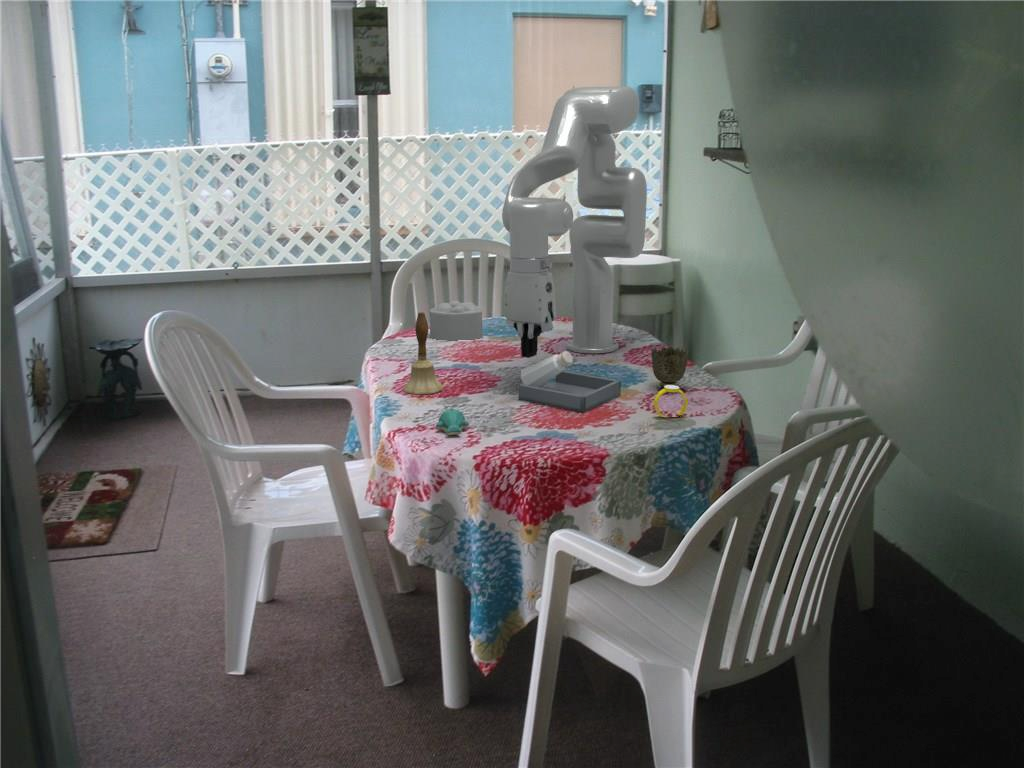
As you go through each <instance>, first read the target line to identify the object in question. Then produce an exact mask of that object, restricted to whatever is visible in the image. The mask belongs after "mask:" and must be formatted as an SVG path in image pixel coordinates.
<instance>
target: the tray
mask: <svg viewBox="0 0 1024 768" xmlns="http://www.w3.org/2000/svg"><path fill="white" fill-rule="evenodd" d="M621 382H622V380H618V379H613V378H605V377H601V376H595V375H588V374H583V373H577V372H572V371H566V370H563V371H562V372H561V373H560V374H558V375H557V376H555V381H554V382H551V383H550V384H547V385H546V384H545V386H544V385H543V386H542V387H540V388H539V387H533V386H528V385H524V384H523V383H520V384H518V401H522V402H527V403H534V404H538V405H542V406H543V405H544V406H548V407H552V408H553V407H554V408H558V409H563V410H568V411H572V412H578V413H583V414H584V413H586V412H588V411H591V410H593V409H594V408H596V407H598V406H601V405H603V404H606V403H607V402H609V401H612V400H613V399H615V398H618V397H620V396H621V393H622V392H621V391H622V390H621V388H622V386H621V385H622V384H621Z"/></svg>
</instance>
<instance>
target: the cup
mask: <svg viewBox="0 0 1024 768" xmlns="http://www.w3.org/2000/svg"><path fill="white" fill-rule="evenodd" d="M650 354H651V364H652V371H653V372H652V373H653V375H654V377H655V378H656V379H657V380H658V381H659V387H660V389H662V388H663V389H664V386H666V385H675V386H678V385H679V384H678V382H679V381H681V380H682V379H683V378H684V376H685V373H686V369H687V363H688V356H689V351H688V350H687V349H685V348H684V347H683V348H681V349H680V347H676V348H674V347H673V346H671V345H670V346H668V347H665V346H664V345H663V346H662V347H661V348H660V350H658V349H657V348H656V347H654V348H653V349H651V351H650Z"/></svg>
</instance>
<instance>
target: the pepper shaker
mask: <svg viewBox="0 0 1024 768" xmlns="http://www.w3.org/2000/svg"><path fill="white" fill-rule="evenodd" d="M573 361H574V359H573V355H572V354H571V353H570V352H569V351H565V350H564V351H562V352H561V353H560V354H557V353H556V354H554V355H551V356H549V357H547V358H545V359H542V360H540V361H537V362H535V363H533V364H531V365H529V366H526V367H523V368H522V369H521V371H520V380H521V381H522V384H523V385H528V386H533V387H539V388H542V387H544V385H545V386H546V384H547V383H549V382H551V381H552V380H553V379H554V378H556V376H557V375H558V374H560V373H561V372H562V371H566V367H568V366H570V365H572V364H573Z"/></svg>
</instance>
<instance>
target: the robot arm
mask: <svg viewBox="0 0 1024 768" xmlns="http://www.w3.org/2000/svg"><path fill="white" fill-rule="evenodd" d="M639 113H640V98H639V95H638V93H637V92H636V90H635V89H634V88H632V87H630V86H620V85H619V86H583V87H582V86H581V87H576V88H571V89H568V90H566V91H565V92H564V93H563V94H562V96H560V97H559V98H558V99H557V100H556V102H555V104H554V107H553V111H552V114H551V117H550V120H549V123H548V127H547V131H546V134H545V138H544V141H543V145H542V148H541V150H540V152H539V153H538V154H536V155H534V156H533V157H532V158H531V159H530V160H528V162H526V163H525V164H524V165H523V166H522V167H521V168H520V169H519V170H518V171H517V172H516V173H515V175H514V176H513V177H512V179H511V181H510V183H509V185H508V189H507V192H506V195H505V199H504V202H503V205H502V206H503V208H502V210H501V211H502V213H501V217H502V218H501V220H502V224H503V226H504V229H505V230H506V231H507V232H508V233H509V271H508V272H507V275H506V280H505V286H504V299H503V300H504V301H503V302H504V303H503V306H504V307H503V308H504V310H503V311H504V316H505V318H506V321H505V322H506V324H507V325H508V326H510V327H513V328H514V329H515V331H516V332H517V335H518V337H519V338H520V351H521V357H522V358H527V359H529V358H533V357H535V356H537V355H538V350H539V349H538V345H539V344H538V343H539V342H538V338H539V337H540V336H541V334H542V333H543V332H547V331H550V330H553V328H554V326H553V322H554V321H555V320H556V318H557V299H556V296H557V295H556V289H555V282H554V278H553V277H554V276H553V274H552V272H549V270H550V269H553V262H552V261H549V237H559V236H563V235H565V234H566V233H568V235H569V236H568V237H569V243H570V250H571V258H572V339H569V340H567V341H566V342H565V348H566V349H567V350H569V351H572V352H575V353H581V354H606V353H610V352H615V351H616V350H618V349H619V342H617V341H616V340H614V339H613V336H614V335H617V334H619V333H620V328H619V327H618V326H616V325H615V326H613V316H614V315H613V311H614V309H613V308H614V306H613V305H614V274H613V270H612V269H611V266H610V265H609V262H608V261H607V260H606V259H605V258H617V259H618V258H619V259H623V258H624V259H633V258H634V259H635V258H638V257H639V256H640V255H641V254H642V252H643V250H644V246H645V239H646V238H645V237H646V221H647V201H648V200H647V199H648V197H647V195H648V192H647V190H648V188H647V187H648V184H647V180H646V177H645V174H644V173H643V171H642V170H640V169H638V168H635V167H628V166H627V167H624V166H623V167H622V166H621V167H619V166H618V167H617V166H616V147H617V146H616V142H615V139H614V137H613V136H612V135H615V134H618V133H620V132H623V131H624V130H626V129H628V128H630V127H632V125H633V124H634V123H635V122H636V120H637V118H638V115H639ZM576 170H577V189H576V190H577V199H578V203H579V204H580V205H581V206H582V207H584V208H586V209H593V210H611V211H612V210H613V211H622V213H623V215H608V214H606V215H605V214H585V215H580V216H579V217H577V218H575V219H574V211H573V208H572V206H571V204H569V202H568V201H566V200H565V199H562V198H556V197H555V198H554V197H552V198H551V197H533V196H532V197H531V196H530V195H531V194H532V193H533V192H534V191H535V190H536V189H538V188H539V187H541V186H543V185H546V184H547V183H549V182H552V181H555V180H557V179H560V178H562V177H564V176H567V175H569V174H570V173H573V172H575V171H576ZM568 231H569V232H568Z"/></svg>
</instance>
